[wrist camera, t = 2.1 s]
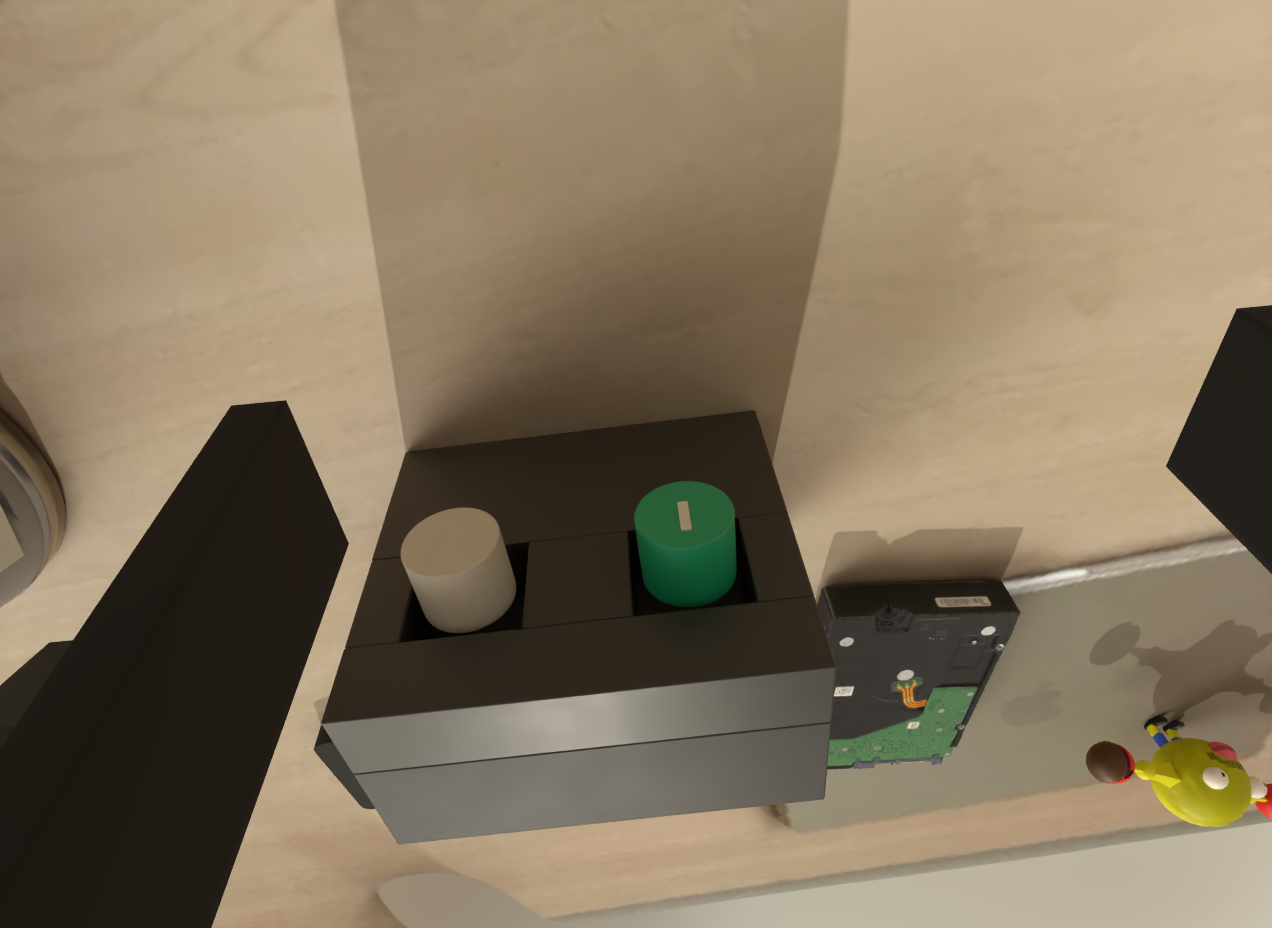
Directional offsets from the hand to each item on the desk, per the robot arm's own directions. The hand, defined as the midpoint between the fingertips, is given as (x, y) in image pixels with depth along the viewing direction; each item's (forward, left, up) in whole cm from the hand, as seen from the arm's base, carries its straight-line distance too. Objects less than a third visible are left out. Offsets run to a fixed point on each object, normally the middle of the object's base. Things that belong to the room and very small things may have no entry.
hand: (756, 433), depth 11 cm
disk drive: (+29, -18, -19) cm, 39 cm away
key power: (+7, -10, -12) cm, 17 cm away
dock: (+7, -16, -19) cm, 26 cm away
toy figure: (+51, -13, -19) cm, 56 cm away
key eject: (+1, -15, -12) cm, 19 cm away
